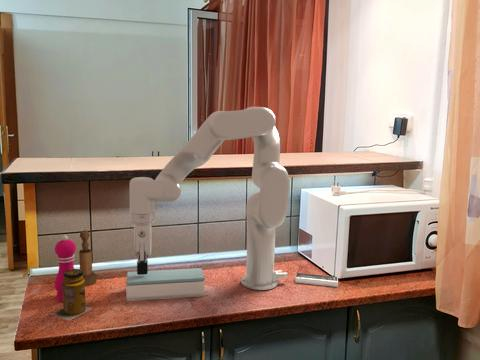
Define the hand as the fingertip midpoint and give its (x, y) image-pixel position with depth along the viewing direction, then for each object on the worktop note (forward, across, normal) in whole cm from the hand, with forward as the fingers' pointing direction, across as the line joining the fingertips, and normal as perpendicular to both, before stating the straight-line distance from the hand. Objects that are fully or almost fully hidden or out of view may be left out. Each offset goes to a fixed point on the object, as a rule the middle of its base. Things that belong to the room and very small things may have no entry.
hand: (142, 273), depth 133 cm
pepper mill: (+7, +1, +23) cm, 24 cm away
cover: (+2, 0, -7) cm, 7 cm away
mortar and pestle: (+7, +12, +19) cm, 23 cm away
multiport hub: (+7, +1, -59) cm, 60 cm away
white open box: (+7, 0, -7) cm, 10 cm away
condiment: (+7, -9, +20) cm, 23 cm away
